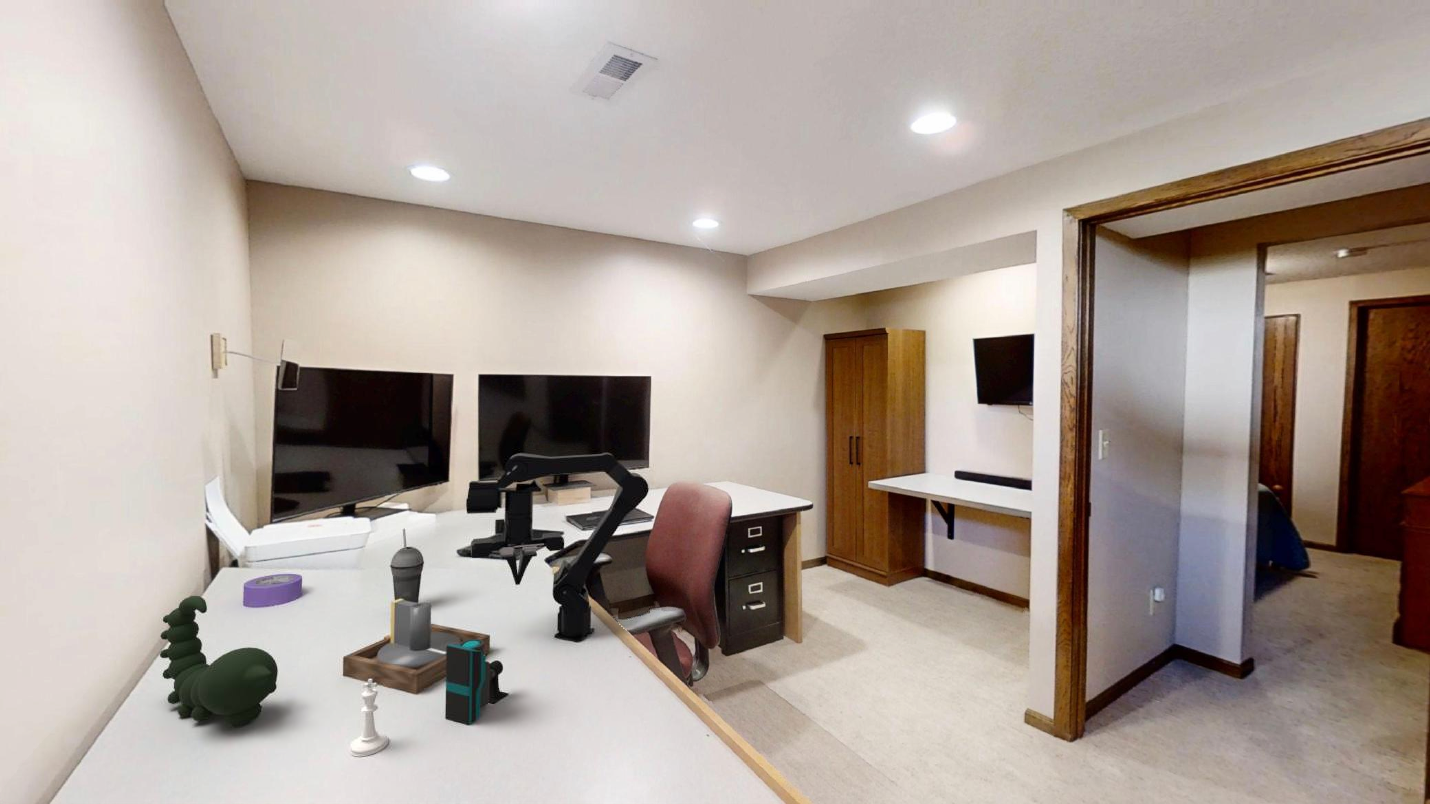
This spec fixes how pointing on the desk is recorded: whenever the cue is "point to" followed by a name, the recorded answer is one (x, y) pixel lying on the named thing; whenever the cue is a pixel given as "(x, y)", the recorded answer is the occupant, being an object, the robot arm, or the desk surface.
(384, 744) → the chess piece
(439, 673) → the dial base
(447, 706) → the surveillance camera
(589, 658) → the desk surface
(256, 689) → the toy figurine
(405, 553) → the beverage cup
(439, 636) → the knob
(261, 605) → the tape roll
